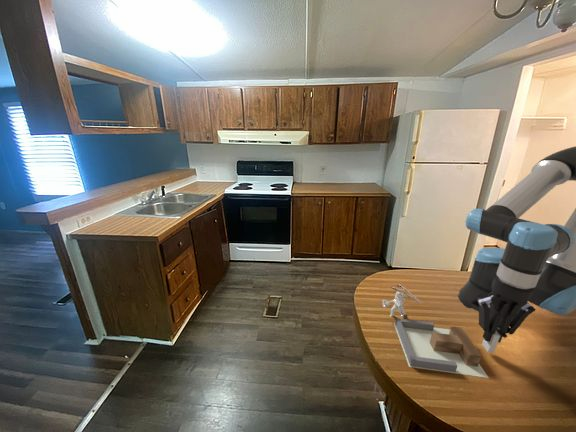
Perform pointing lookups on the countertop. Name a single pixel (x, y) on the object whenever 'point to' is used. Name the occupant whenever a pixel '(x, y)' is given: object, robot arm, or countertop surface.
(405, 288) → the silver tweezers
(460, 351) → the t block
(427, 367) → the board
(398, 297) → the figurine
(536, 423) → the countertop surface
